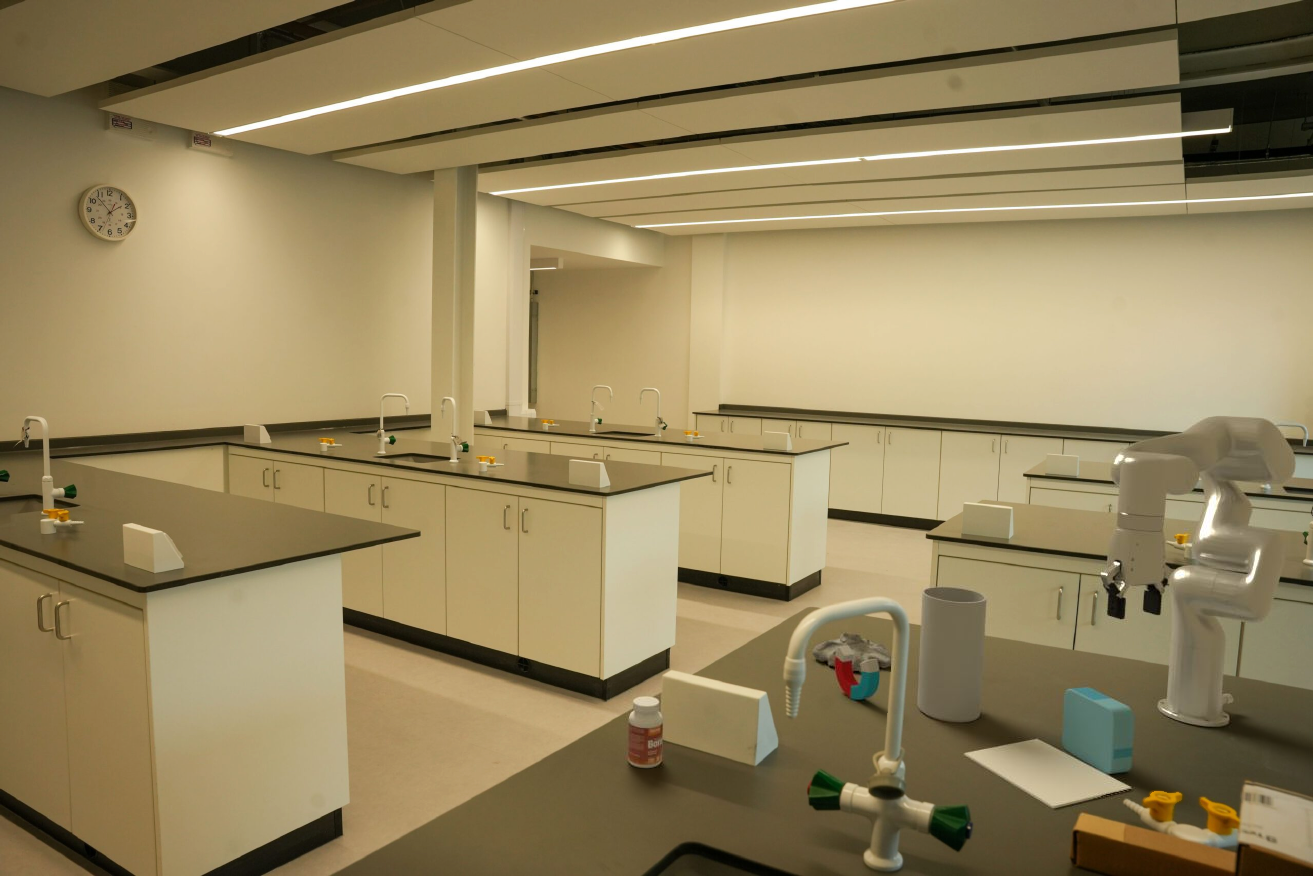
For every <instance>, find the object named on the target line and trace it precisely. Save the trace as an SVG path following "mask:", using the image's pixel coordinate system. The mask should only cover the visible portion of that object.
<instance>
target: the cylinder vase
mask: <svg viewBox="0 0 1313 876" xmlns="http://www.w3.org/2000/svg"><path fill="white" fill-rule="evenodd" d="M921 594H922V595H921V596H922V597H921V617H920V637H919V638H920V641H919V658H918V659H919V661H918V679H917V680H918V681H917V682H918V685H917V686H918V687H917V703H916V704H917V707H918V709H919V710H920V711H921V712H922V713H923V714H924V713H925V714H924V715H926V716H928V717H931V718H933V719H935V720H939V721H942V722H943V721H944V722H947V723H956V722H957V724H958V723H962V722H963V723H970V722H973V721H976V720H977V719H978V718H980V717H981V711H982V696H983V695H982V693H983V678H984V677H983V673H984V653H985V652H984V651H985V637H986V636H985V635H986V633H985V632H986V617H987V615H986V614H987V596H986V595H985V594H983V593H981V592H978V591H975V590H971V589H967V588H961V587H953V586H933V587H927V588H924V589H922V593H921Z"/></svg>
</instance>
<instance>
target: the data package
mask: <svg viewBox="0 0 1313 876" xmlns="http://www.w3.org/2000/svg"><path fill="white" fill-rule="evenodd" d="M1134 733H1135V713H1134V711H1133V709H1131V707H1130V706H1129V705H1126V704H1124V703H1122V702H1120V701H1118V700H1116V699H1114V698H1112V697H1109V696H1107V695H1105V694H1103V693H1102V692H1100V691H1098V690H1096V689H1093V688H1091V687H1089V686H1086V687H1077V688H1075V687H1074V688H1068V689H1066V690H1065V693H1064V701H1063V715H1062V734H1061V735H1062V737H1061V744H1062V745H1063V747H1064V750H1066V751H1067V752H1068V753H1070V754H1072V755H1073V756H1075V758H1078V759H1079V760H1080V761H1082V762H1084V763H1085V764H1087V765H1089V766H1091V767H1093V768H1095V769H1097V770H1099V771H1101V772H1103V773H1104V774H1106V775H1111V774H1120V773H1127V772H1129V771H1130V770H1131V769H1132V762H1133V747H1134Z"/></svg>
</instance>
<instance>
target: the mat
mask: <svg viewBox="0 0 1313 876" xmlns="http://www.w3.org/2000/svg"><path fill="white" fill-rule="evenodd" d="M963 756H965V757H967V758H968V759H970V760H972V761H973V762H974V763H976V764H977V765H980V766H981V767H983V768H984V769H986V770H988V771H990V772H991V773H993V774H994V775H996V776H998V777H1000V778H1001V779H1003V780H1005V781H1006V782H1008V783H1010V784H1011V785H1013V786H1014V787H1016V788H1017V789H1019V790H1021V791H1023V792H1025V793H1026V794H1028V795H1030V796H1031V797H1033V798H1034V799H1036V800H1038V801H1040V802H1041V803H1043V804H1044V805H1046V806H1048V807H1049V808H1051V809H1053V810H1054V809H1057V808H1062V807H1066V806H1069V805H1073V804H1078V803H1082V802H1086V801H1089V800H1094V798H1095V799H1099V798H1102V797H1101V796H1102V795H1106V794H1110V793H1113V792H1119V791H1123V790H1127V789H1131V790H1132V786H1129V785H1128V784H1126V783H1124V782H1122V781H1119V780H1118V779H1116V778H1115V777H1112V776H1111V775H1109V774H1105V773H1103V772H1101V771H1100V770H1098V769H1096V768H1095V767H1093V766H1091V765H1090V764H1088V763H1086V762H1084V761H1082V760H1080V759H1077V758H1076V757H1073V756H1071V755H1070V754H1068V753H1066V752H1065V751H1062V750H1060V749H1058V748H1056V747H1054V746H1052V745H1051V744H1049V743H1046V742H1044V741H1042V740H1040V739H1039V738H1035V739H1030V740H1024V741H1019V742H1014V743H1009V744H1003V745H999V746H994V747H989V748H984V749H979V750H974V751H968V752H964V754H963ZM1127 791H1128V790H1127ZM1123 792H1124V791H1123ZM1119 793H1120V792H1119ZM1098 797H1099V798H1098Z"/></svg>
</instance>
